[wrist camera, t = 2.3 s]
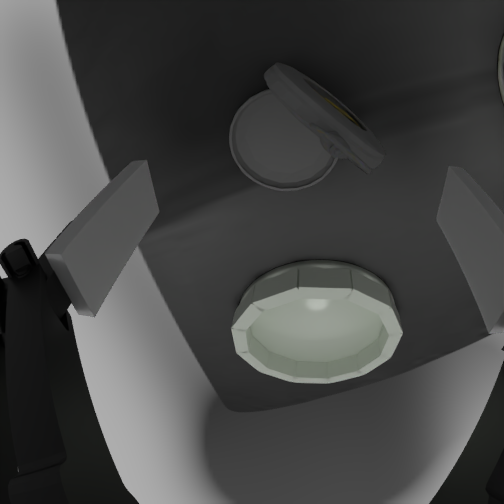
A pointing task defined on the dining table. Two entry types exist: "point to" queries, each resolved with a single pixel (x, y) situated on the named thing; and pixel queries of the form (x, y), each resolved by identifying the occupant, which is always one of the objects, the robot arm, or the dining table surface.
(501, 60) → the coffee can
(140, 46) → the dining table surface
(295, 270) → the dish
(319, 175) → the pocket watch
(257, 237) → the dining table surface
